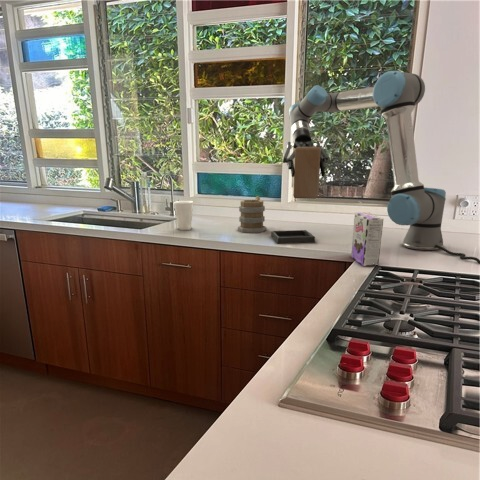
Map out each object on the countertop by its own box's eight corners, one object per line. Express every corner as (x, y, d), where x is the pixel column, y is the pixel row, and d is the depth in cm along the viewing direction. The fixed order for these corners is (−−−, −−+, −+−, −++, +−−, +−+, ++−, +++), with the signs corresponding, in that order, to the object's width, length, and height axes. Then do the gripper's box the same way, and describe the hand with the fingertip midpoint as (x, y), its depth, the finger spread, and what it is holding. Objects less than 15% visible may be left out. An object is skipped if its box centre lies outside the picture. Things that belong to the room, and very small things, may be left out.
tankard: (260, 233, 217) (261, 200, 212) (235, 231, 221) (235, 199, 215) (271, 226, 235) (272, 196, 229) (248, 225, 239) (248, 195, 233)
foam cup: (198, 228, 231) (197, 201, 226) (186, 231, 224) (185, 203, 219) (183, 226, 236) (181, 200, 231) (171, 229, 229) (169, 202, 224)
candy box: (350, 257, 171) (354, 212, 165) (366, 256, 172) (370, 211, 166) (362, 266, 158) (366, 218, 152) (379, 266, 159) (384, 217, 153)
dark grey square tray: (314, 242, 196) (315, 236, 196) (277, 243, 195) (277, 237, 194) (305, 235, 211) (305, 230, 210) (271, 236, 210) (271, 230, 209)
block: (317, 198, 191) (320, 147, 183) (292, 198, 192) (294, 147, 185) (318, 196, 200) (321, 146, 192) (295, 195, 202) (297, 146, 194)
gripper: (326, 141, 204) (334, 180, 195) (272, 141, 201) (278, 181, 192) (331, 128, 197) (339, 167, 188) (275, 128, 194) (280, 168, 186)
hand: (308, 174), depth 190 cm, fingers closed on block, 12 cm apart
